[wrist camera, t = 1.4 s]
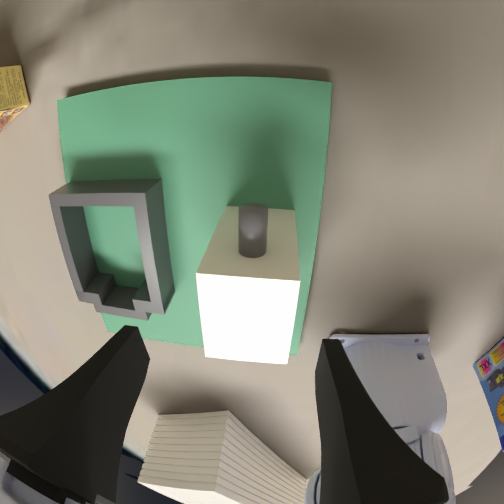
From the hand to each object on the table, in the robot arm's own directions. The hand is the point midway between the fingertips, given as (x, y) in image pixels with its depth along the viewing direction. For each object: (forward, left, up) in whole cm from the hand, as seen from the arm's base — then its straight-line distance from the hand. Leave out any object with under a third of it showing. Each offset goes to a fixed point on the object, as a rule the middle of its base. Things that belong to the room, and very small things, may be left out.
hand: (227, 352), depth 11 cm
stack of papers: (0, +39, -10) cm, 41 cm away
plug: (-1, 0, -9) cm, 9 cm away
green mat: (+4, 0, -10) cm, 11 cm away
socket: (+9, 0, -9) cm, 13 cm away
